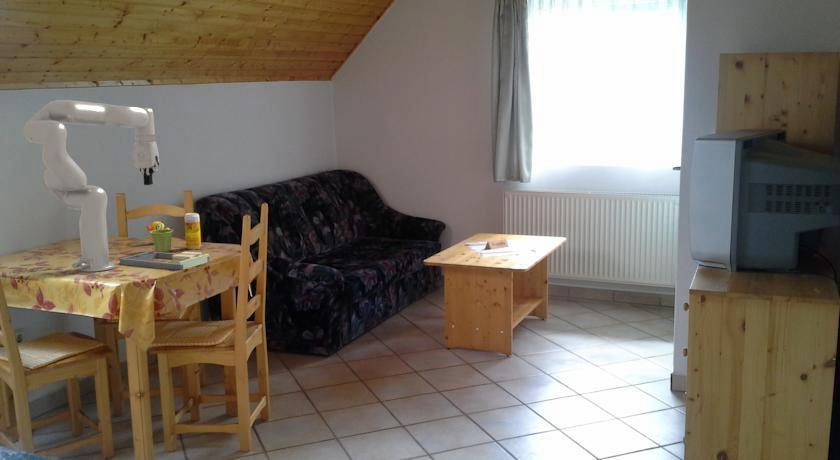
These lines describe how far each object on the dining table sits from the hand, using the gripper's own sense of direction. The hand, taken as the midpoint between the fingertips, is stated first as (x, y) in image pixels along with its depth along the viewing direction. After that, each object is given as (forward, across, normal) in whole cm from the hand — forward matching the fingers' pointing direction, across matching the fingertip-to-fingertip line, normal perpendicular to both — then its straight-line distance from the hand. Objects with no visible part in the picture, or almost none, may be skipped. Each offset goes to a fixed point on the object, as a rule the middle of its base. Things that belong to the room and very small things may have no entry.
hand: (148, 184), depth 310 cm
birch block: (+30, +24, -8) cm, 39 cm away
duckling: (+30, -16, +22) cm, 40 cm away
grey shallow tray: (+29, +15, -10) cm, 34 cm away
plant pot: (+29, -2, +8) cm, 31 cm away
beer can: (+29, +6, +18) cm, 35 cm away
